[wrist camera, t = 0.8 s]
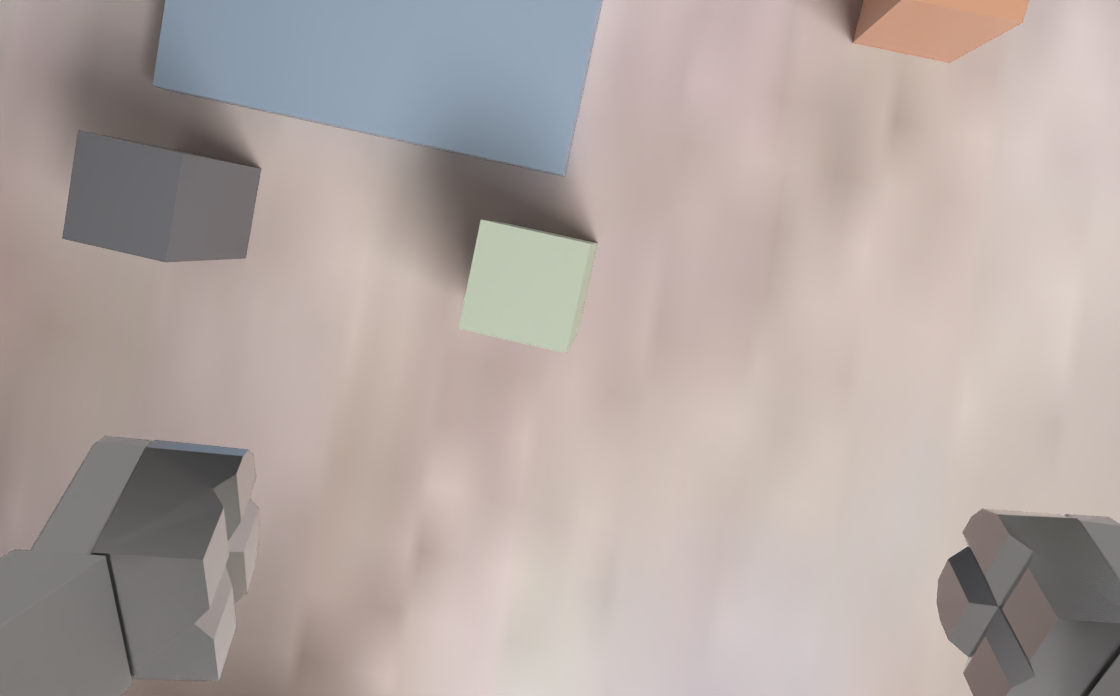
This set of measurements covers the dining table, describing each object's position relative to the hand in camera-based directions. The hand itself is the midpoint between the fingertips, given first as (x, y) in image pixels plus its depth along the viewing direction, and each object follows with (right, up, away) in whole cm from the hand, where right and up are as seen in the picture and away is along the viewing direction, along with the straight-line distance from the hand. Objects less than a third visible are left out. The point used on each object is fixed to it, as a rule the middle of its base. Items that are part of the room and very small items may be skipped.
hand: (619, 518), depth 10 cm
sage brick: (-1, +5, +35) cm, 35 cm away
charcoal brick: (-18, +9, +35) cm, 41 cm away
